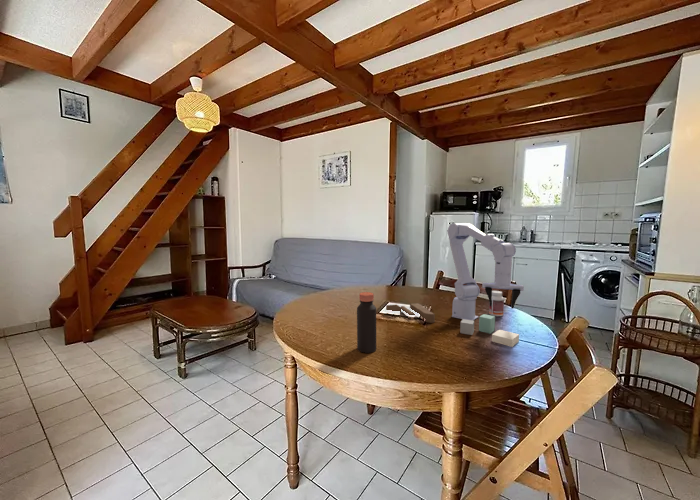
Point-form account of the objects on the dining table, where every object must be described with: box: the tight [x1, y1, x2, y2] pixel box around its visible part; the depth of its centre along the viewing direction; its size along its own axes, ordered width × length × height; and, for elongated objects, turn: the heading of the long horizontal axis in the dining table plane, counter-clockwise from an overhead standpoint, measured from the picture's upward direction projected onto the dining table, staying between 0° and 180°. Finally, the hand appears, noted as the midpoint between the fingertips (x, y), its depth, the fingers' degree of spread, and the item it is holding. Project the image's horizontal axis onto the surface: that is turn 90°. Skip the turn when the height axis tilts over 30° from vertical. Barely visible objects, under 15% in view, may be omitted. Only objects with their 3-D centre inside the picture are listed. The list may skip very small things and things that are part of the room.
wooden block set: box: [385, 303, 436, 324], centre depth 137 cm, size 17×6×18 cm
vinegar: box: [356, 291, 377, 354], centre depth 103 cm, size 7×7×20 cm
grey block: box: [459, 319, 475, 336], centre depth 118 cm, size 4×4×4 cm
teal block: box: [478, 313, 496, 335], centre depth 119 cm, size 4×4×6 cm
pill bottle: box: [488, 290, 505, 317], centre depth 139 cm, size 6×6×11 cm
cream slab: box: [491, 329, 520, 348], centre depth 109 cm, size 7×7×3 cm
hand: (501, 306), depth 118 cm, fingers open, 7 cm apart
